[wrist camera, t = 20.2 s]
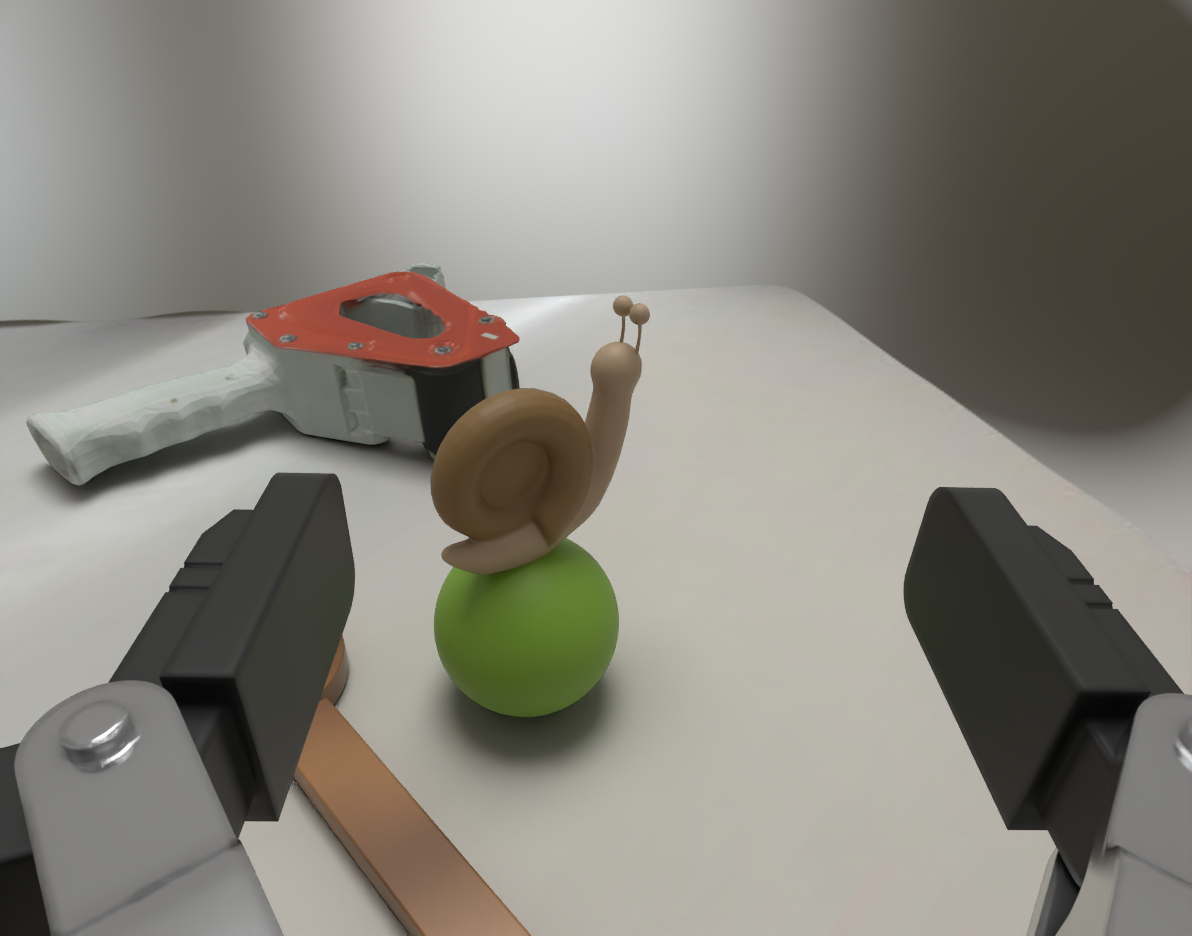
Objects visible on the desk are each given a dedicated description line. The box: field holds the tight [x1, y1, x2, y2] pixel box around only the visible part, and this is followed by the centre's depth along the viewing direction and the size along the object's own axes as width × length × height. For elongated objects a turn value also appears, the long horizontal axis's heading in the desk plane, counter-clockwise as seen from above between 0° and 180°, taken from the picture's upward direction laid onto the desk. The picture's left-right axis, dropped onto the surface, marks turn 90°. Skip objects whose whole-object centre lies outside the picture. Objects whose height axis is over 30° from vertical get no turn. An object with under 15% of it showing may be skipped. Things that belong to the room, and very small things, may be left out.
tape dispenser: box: [26, 263, 519, 486], centre depth 38 cm, size 18×5×20 cm
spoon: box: [293, 636, 531, 936], centre depth 22 cm, size 20×5×1 cm, turn 44°
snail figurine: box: [431, 295, 650, 717], centre depth 23 cm, size 5×6×12 cm
